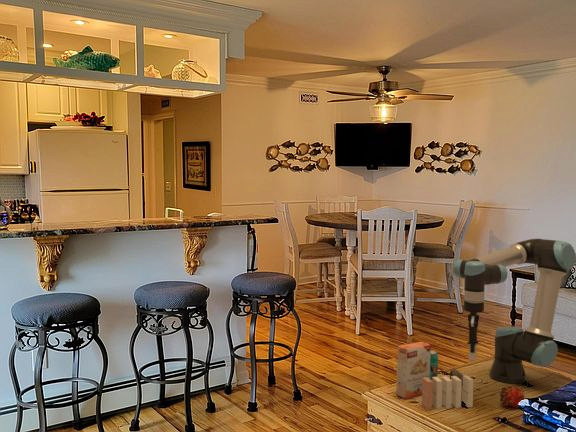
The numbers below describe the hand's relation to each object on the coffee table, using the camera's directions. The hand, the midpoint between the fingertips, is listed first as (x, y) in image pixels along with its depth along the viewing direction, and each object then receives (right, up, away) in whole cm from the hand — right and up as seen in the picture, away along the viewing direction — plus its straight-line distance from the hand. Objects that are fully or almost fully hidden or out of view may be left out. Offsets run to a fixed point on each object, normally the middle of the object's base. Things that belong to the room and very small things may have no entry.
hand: (472, 359), depth 216 cm
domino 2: (-15, -18, -1) cm, 23 cm away
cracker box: (-21, -17, +11) cm, 29 cm away
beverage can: (-11, -17, +21) cm, 29 cm away
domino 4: (-7, -18, 0) cm, 19 cm away
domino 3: (-11, -18, -1) cm, 21 cm away
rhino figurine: (+1, -17, +21) cm, 27 cm away
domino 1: (-19, -18, -2) cm, 26 cm away
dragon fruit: (+16, -19, 0) cm, 25 cm away
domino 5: (-2, -18, +1) cm, 18 cm away
